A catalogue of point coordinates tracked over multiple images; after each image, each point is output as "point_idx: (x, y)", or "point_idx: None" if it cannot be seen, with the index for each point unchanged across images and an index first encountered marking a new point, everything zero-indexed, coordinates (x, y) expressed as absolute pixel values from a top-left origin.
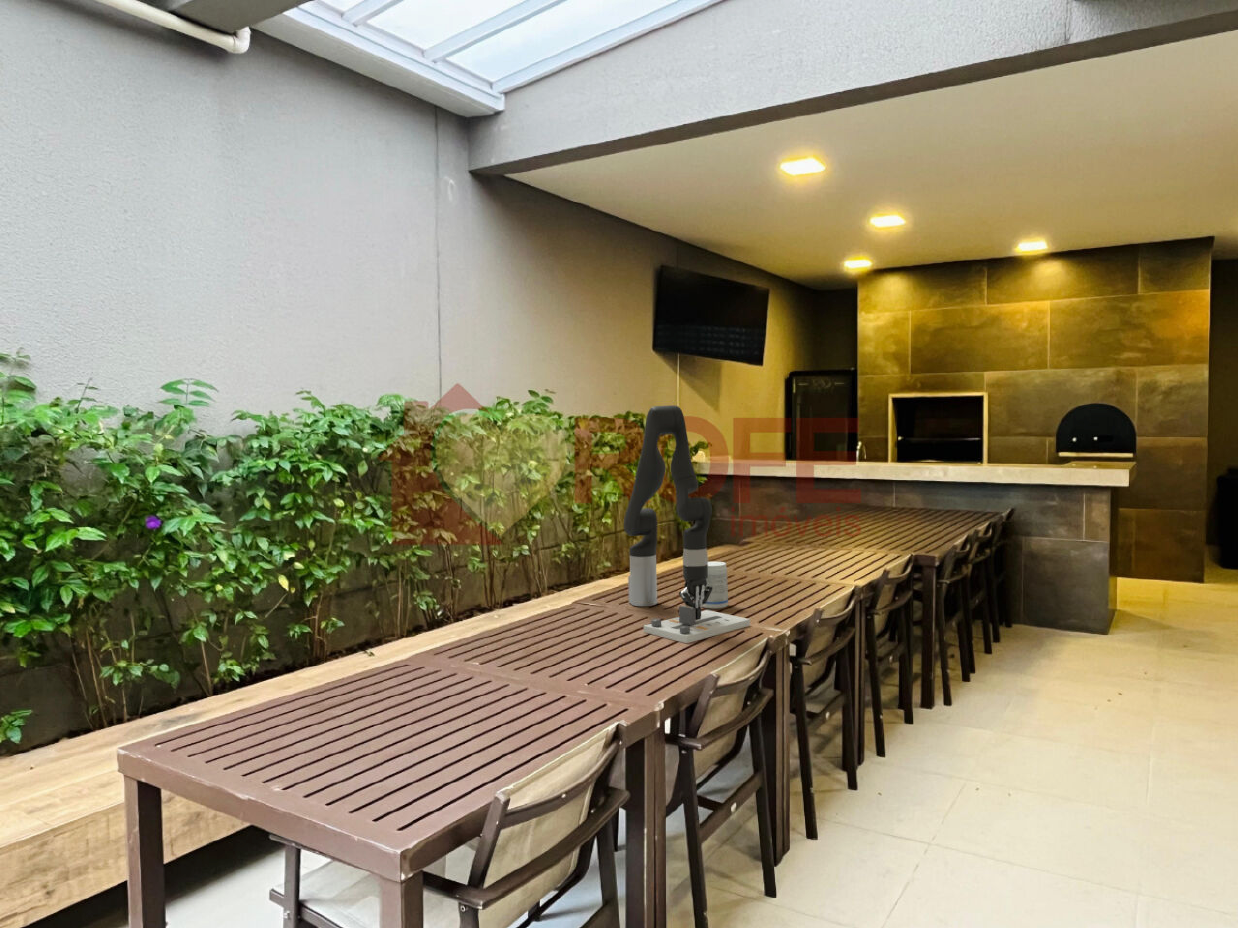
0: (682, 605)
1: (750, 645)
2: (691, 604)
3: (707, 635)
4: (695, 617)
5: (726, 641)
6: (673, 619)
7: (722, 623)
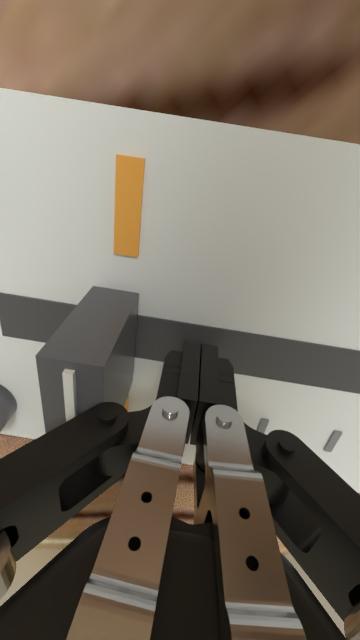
0: (71, 378)
1: None
2: (84, 471)
3: None
4: None
5: (114, 483)
6: (177, 154)
7: None
